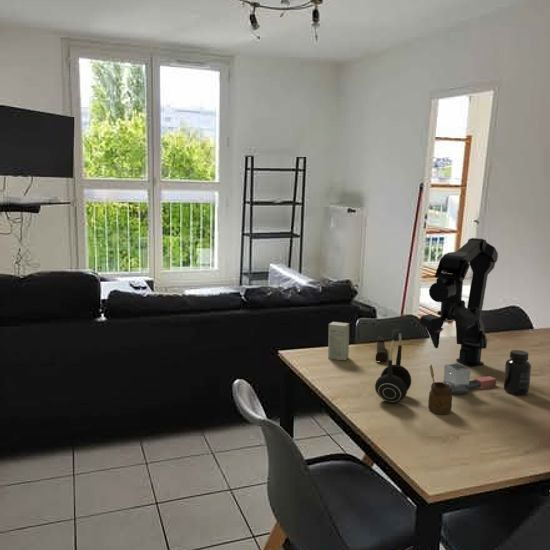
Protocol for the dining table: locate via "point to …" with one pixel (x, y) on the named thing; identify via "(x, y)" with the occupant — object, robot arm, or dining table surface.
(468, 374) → the square hollow container
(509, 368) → the supplement bottle
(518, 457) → the dining table surface
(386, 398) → the headphones
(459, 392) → the ratchet
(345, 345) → the skincare box
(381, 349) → the hand tool
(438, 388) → the utensil holder
